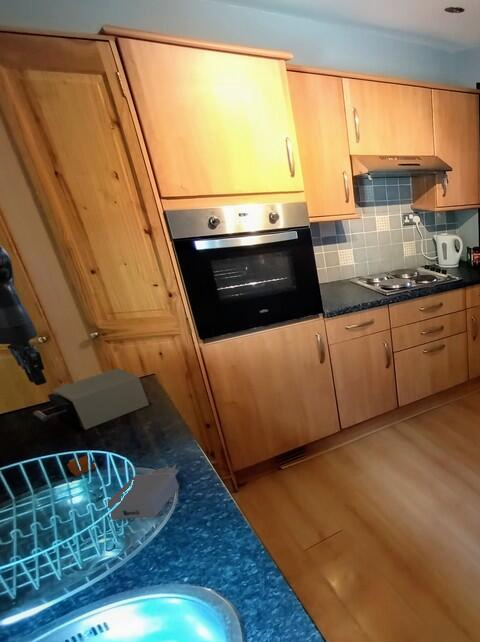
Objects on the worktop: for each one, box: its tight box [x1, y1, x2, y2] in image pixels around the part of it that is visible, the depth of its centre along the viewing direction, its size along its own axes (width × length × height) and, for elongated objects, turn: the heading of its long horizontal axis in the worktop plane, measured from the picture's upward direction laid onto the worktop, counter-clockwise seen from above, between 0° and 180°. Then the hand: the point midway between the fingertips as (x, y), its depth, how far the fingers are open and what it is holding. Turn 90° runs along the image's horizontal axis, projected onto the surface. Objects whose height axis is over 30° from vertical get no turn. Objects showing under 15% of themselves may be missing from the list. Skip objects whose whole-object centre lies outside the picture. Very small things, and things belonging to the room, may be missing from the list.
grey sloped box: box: [52, 368, 150, 430], centre depth 134 cm, size 16×13×10 cm
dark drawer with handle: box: [32, 392, 82, 430], centre depth 130 cm, size 19×12×8 cm, turn 151°
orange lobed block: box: [66, 455, 97, 477], centre depth 111 cm, size 8×4×3 cm, turn 61°
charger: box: [104, 464, 180, 521], centre depth 102 cm, size 5×9×15 cm
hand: (38, 382), depth 121 cm, fingers open, 3 cm apart
